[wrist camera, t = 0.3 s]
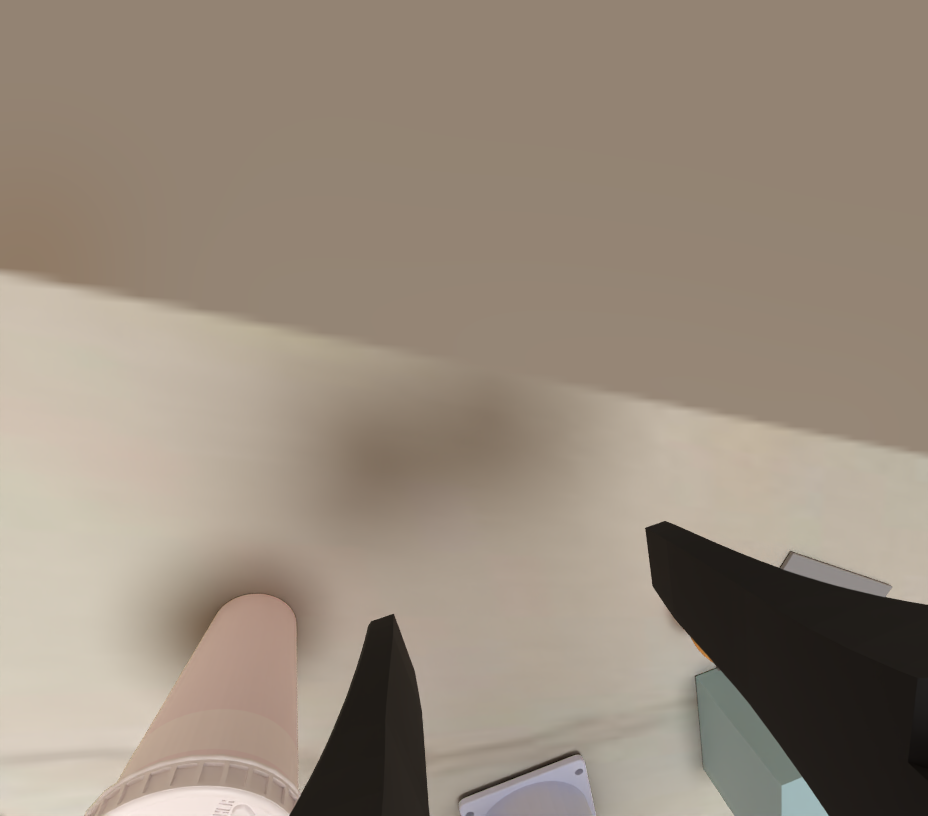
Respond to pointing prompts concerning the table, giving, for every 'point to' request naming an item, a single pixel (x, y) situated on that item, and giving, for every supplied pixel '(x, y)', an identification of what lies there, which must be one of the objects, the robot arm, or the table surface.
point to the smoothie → (222, 725)
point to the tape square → (833, 575)
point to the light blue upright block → (747, 756)
